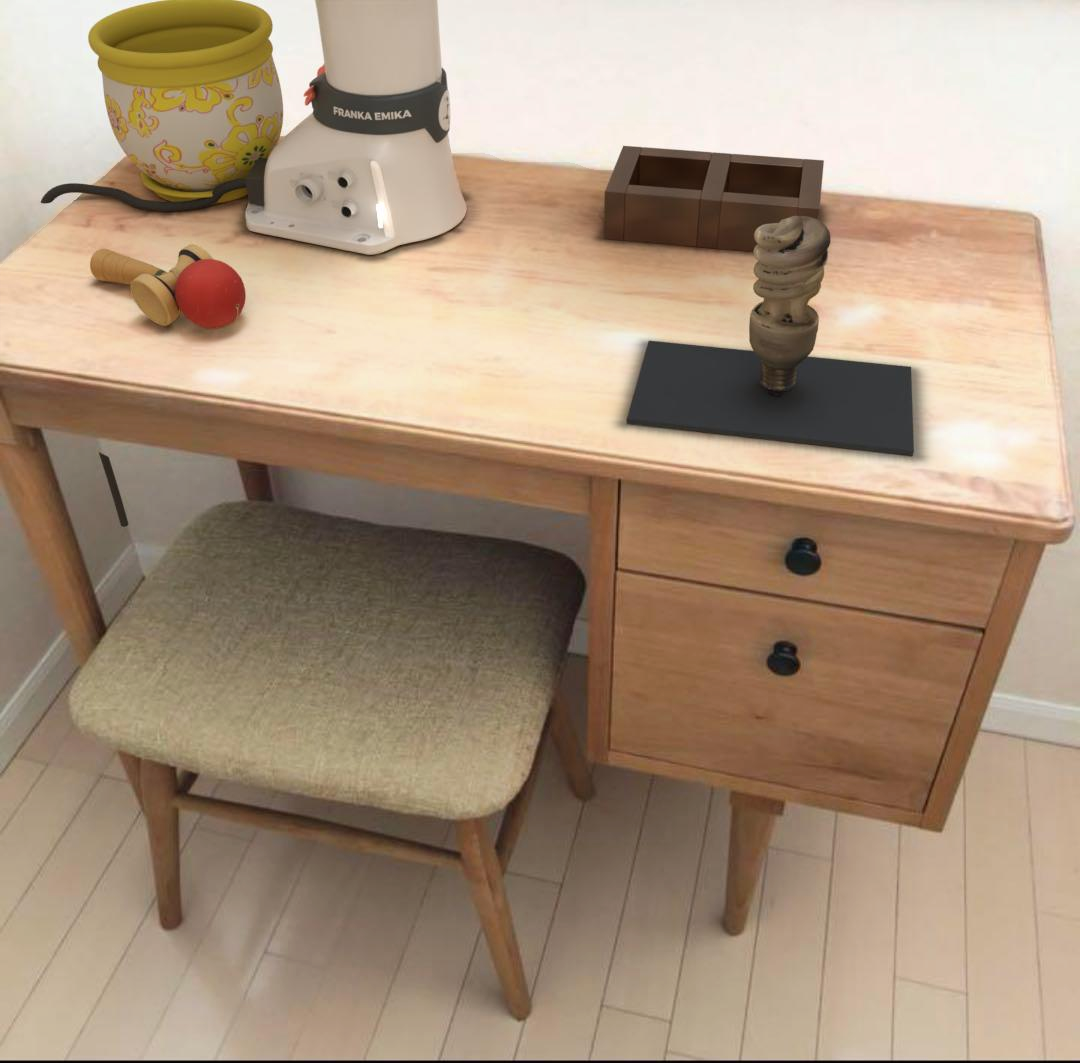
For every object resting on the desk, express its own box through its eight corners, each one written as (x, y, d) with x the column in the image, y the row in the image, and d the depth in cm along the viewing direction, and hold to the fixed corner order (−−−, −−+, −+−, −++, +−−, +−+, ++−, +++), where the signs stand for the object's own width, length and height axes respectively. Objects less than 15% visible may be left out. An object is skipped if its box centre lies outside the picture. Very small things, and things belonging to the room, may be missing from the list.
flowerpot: (321, 156, 137) (301, 4, 126) (247, 226, 124) (218, 63, 113) (178, 139, 141) (147, -10, 130) (92, 206, 128) (50, 46, 117)
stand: (603, 239, 120) (604, 191, 117) (621, 191, 129) (623, 145, 126) (812, 257, 117) (819, 208, 114) (817, 206, 125) (823, 160, 122)
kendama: (73, 312, 113) (202, 344, 104) (59, 244, 110) (190, 271, 101) (141, 292, 119) (269, 321, 109) (129, 227, 116) (260, 251, 106)
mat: (626, 423, 96) (626, 418, 96) (648, 345, 105) (648, 340, 105) (912, 455, 93) (914, 450, 92) (910, 371, 101) (911, 366, 101)
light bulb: (735, 406, 97) (754, 233, 87) (739, 370, 101) (757, 200, 91) (807, 413, 96) (834, 238, 86) (808, 375, 100) (834, 205, 91)
